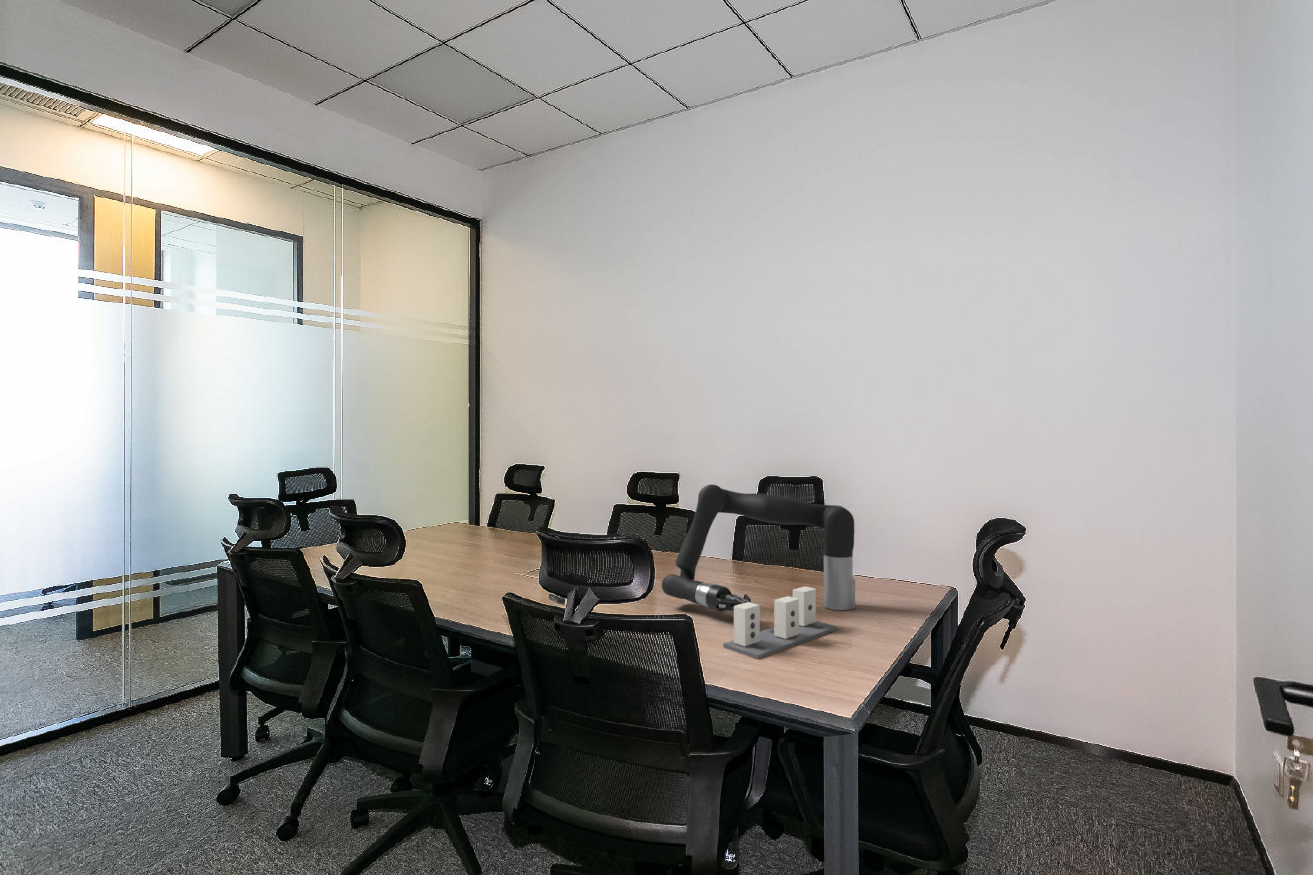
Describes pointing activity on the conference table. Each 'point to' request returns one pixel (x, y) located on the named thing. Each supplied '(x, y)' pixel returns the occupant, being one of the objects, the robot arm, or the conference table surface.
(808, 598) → the key one dot
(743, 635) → the key three dots
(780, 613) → the key two dots
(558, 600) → the media streaming box
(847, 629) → the conference table surface
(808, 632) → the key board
